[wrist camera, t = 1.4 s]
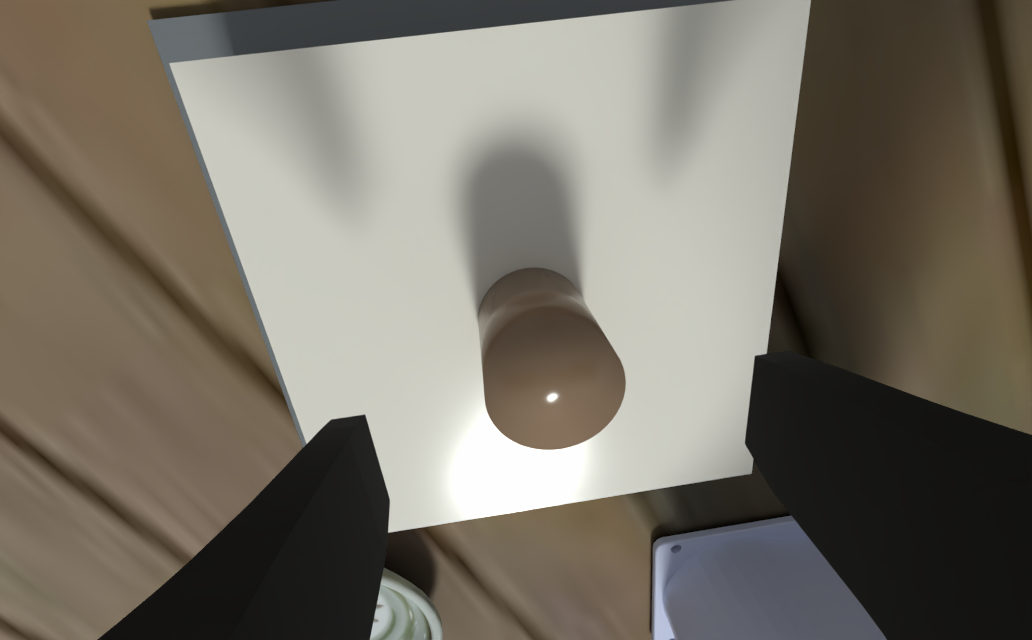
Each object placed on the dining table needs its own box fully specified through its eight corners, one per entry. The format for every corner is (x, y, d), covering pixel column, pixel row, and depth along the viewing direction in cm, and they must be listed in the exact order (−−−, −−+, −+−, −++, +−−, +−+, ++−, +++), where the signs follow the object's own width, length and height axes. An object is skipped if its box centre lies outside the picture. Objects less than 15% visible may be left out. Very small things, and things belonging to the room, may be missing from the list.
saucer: (233, 659, 24) (210, 715, 22) (230, 513, 21) (203, 562, 18) (429, 664, 26) (426, 717, 24) (459, 530, 22) (459, 577, 20)
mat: (793, -47, 14) (800, -49, 14) (742, 429, 21) (745, 433, 21) (153, 22, 13) (146, 20, 13) (324, 495, 20) (322, 500, 20)
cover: (731, 15, 14) (970, -56, 8) (704, 413, 20) (825, 568, 14) (238, 71, 14) (24, 46, 7) (361, 466, 20) (310, 658, 13)
